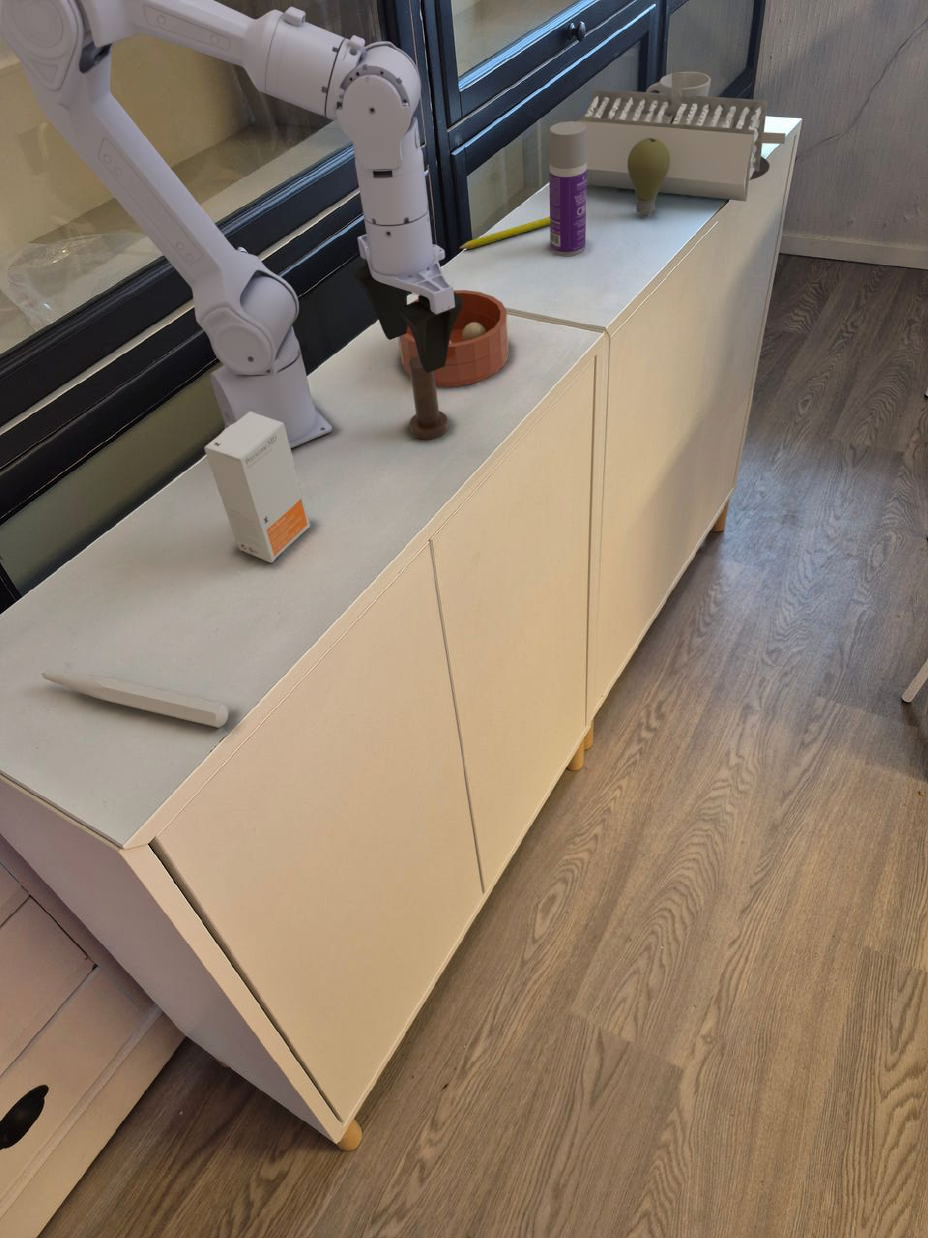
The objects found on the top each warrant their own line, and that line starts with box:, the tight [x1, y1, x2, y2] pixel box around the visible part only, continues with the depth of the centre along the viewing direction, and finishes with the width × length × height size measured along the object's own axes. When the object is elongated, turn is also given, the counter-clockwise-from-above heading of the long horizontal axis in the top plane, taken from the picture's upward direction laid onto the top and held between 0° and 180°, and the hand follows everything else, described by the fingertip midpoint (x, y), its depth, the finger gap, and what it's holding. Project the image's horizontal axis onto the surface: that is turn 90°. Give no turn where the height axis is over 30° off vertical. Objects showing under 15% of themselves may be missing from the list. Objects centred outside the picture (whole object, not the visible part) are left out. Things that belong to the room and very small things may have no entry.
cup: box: [645, 71, 712, 97], centre depth 139 cm, size 8×10×8 cm
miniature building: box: [576, 72, 787, 202], centre depth 124 cm, size 13×27×10 cm
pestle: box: [409, 356, 449, 441], centre depth 92 cm, size 4×4×8 cm
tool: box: [40, 670, 230, 729], centre depth 72 cm, size 17×2×2 cm
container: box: [548, 120, 587, 257], centre depth 115 cm, size 5×5×15 cm
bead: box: [462, 322, 486, 341], centre depth 104 cm, size 3×3×3 cm
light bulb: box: [628, 138, 670, 218], centre depth 122 cm, size 6×6×10 cm
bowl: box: [397, 289, 510, 388], centre depth 103 cm, size 12×12×5 cm
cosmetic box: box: [203, 412, 311, 564], centre depth 81 cm, size 6×4×12 cm
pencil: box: [459, 216, 550, 250], centre depth 124 cm, size 16×1×1 cm
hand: (415, 351), depth 88 cm, fingers open, 7 cm apart
